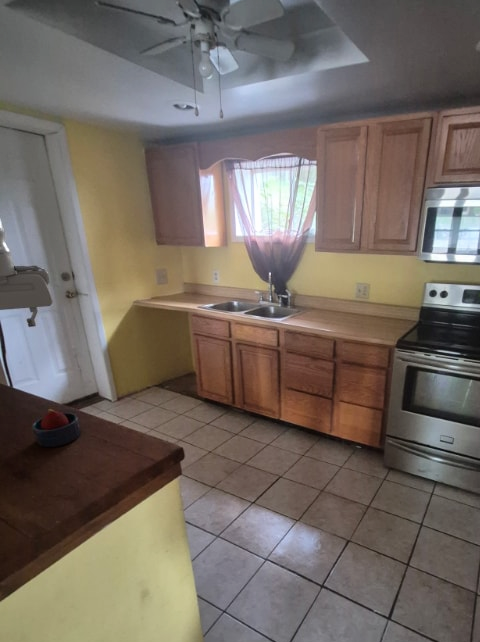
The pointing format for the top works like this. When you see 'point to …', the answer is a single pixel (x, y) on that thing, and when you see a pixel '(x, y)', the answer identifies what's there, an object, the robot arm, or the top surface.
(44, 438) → the bowl
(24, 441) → the top surface
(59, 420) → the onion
